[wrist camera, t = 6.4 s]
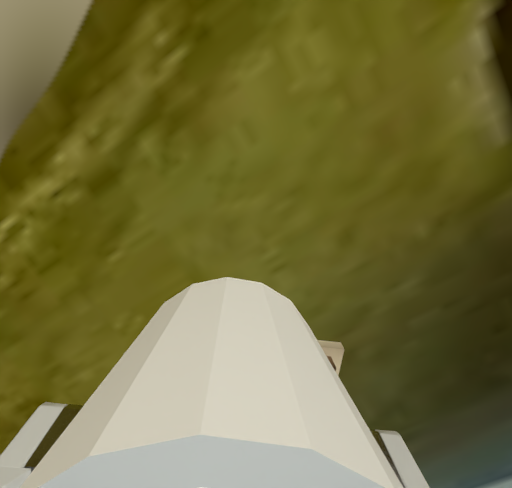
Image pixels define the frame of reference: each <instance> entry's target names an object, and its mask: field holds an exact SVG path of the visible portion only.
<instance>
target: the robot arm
mask: <svg viewBox="0 0 512 488" xmlns="http://www.w3.org/2000/svg"><path fill="white" fill-rule="evenodd" d="M82 407H83V406H82V405H73V404H69V405H67V404H58V403H49V402H45V403H43V404H42V405H40V406H39V407H38V408H37V409H36V411H35V412H34V413H33V414H32V416H31V417H30V418H29V420H28V421H27V422H26V423H25V425H24V426H23V427H22V429H21V430H20V431H19V432H18V434H17V435H16V436H15V437H14V439H13V440H12V441H11V443H10V444H9V445H8V446H7V448H6V449H5V450H4V452H3V453H2V454H1V455H0V488H20V487H21V485H22V484H23V483H24V481H25V480H26V479H27V478H28V476H29V475H30V474H31V473H32V471H33V470H34V469H35V467H36V466H37V465H38V464H39V462H40V461H41V460H42V458H43V457H44V456H45V455H46V453H47V452H48V451H49V450H50V448H51V447H52V446H53V444H54V443H55V442H56V441H57V439H58V438H59V437H60V435H61V434H62V433H63V432H64V430H65V429H66V428H67V427H68V425H69V424H70V423H71V421H72V420H73V419H74V418H75V416H76V415H77V414H78V412H79V411H80V410H81V409H82ZM370 431H371V433H372V435H373V437H374V438H375V440H376V442H377V443H378V445H379V447H380V449H381V450H382V452H383V454H384V455H385V457H386V459H387V460H388V462H389V464H390V466H391V467H392V469H393V471H394V472H395V474H396V476H397V478H398V479H399V481H400V483H401V484H402V486H403V488H430V487H429V485H428V484H427V482H426V480H425V478H424V477H423V475H422V473H421V471H420V469H419V468H418V466H417V464H416V462H415V460H414V459H413V457H412V455H411V453H410V451H409V450H408V448H407V446H406V444H405V443H404V441H403V439H402V437H401V435H400V434H399V433H398V432H396V431H387V430H370Z"/></svg>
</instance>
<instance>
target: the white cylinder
mask: <svg viewBox="0 0 512 488" xmlns="http://www.w3.org/2000/svg"><path fill="white" fill-rule="evenodd" d="M20 488H403V486H402V484H401V483H400V481H399V479H398V478H397V476H396V474H395V472H394V471H393V469H392V467H391V466H390V464H389V462H388V460H387V459H386V457H385V455H384V454H383V452H382V450H381V449H380V447H379V445H378V443H377V442H376V440H375V438H374V437H373V435H372V433H371V431H370V430H369V428H368V426H367V425H366V423H365V421H364V419H363V418H362V416H361V414H360V413H359V411H358V409H357V408H356V406H355V404H354V402H353V401H352V399H351V397H350V396H349V394H348V392H347V390H346V389H345V387H344V385H343V384H342V382H341V380H340V378H339V377H338V375H337V373H336V372H335V370H334V368H333V367H332V365H331V363H330V361H329V360H328V358H327V356H326V355H325V353H324V351H323V349H322V348H321V346H320V344H319V343H318V341H317V339H316V337H315V336H314V334H313V332H312V331H311V329H310V327H309V326H308V324H307V323H306V321H305V320H304V319H303V317H302V316H301V314H300V313H299V311H298V310H297V309H296V307H295V306H294V304H293V303H292V302H291V300H289V299H288V298H286V297H284V296H283V295H281V294H279V293H278V292H276V291H274V290H273V289H271V288H269V287H268V286H266V285H265V284H263V283H260V282H254V281H248V280H242V279H236V278H230V277H225V278H220V279H215V280H210V281H205V282H200V283H196V284H192V285H190V286H189V287H187V288H186V289H184V290H183V291H181V292H180V293H178V294H177V295H175V296H174V297H172V298H171V299H169V300H168V301H166V302H165V303H164V304H163V305H162V306H161V308H160V309H159V310H158V312H157V313H156V314H155V315H154V317H153V318H152V319H151V320H150V322H149V323H148V324H147V326H146V327H145V328H144V329H143V331H142V332H141V333H140V335H139V336H138V337H137V338H136V340H135V341H134V342H133V343H132V345H131V346H130V347H129V349H128V350H127V351H126V352H125V354H124V355H123V356H122V358H121V359H120V360H119V361H118V363H117V364H116V365H115V366H114V368H113V369H112V370H111V372H110V373H109V374H108V375H107V377H106V378H105V379H104V381H103V382H102V383H101V384H100V386H99V387H98V388H97V389H96V391H95V392H94V393H93V395H92V396H91V397H90V398H89V400H88V401H87V402H86V404H85V405H84V406H83V407H82V409H81V410H80V411H79V412H78V414H77V415H76V416H75V418H74V419H73V420H72V421H71V423H70V424H69V425H68V427H67V428H66V429H65V430H64V432H63V433H62V434H61V435H60V437H59V438H58V439H57V441H56V442H55V443H54V444H53V446H52V447H51V448H50V450H49V451H48V452H47V453H46V455H45V456H44V457H43V458H42V460H41V461H40V462H39V464H38V465H37V466H36V467H35V469H34V470H33V471H32V473H31V474H30V475H29V476H28V478H27V479H26V480H25V481H24V483H23V484H22V485H21V487H20Z"/></svg>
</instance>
